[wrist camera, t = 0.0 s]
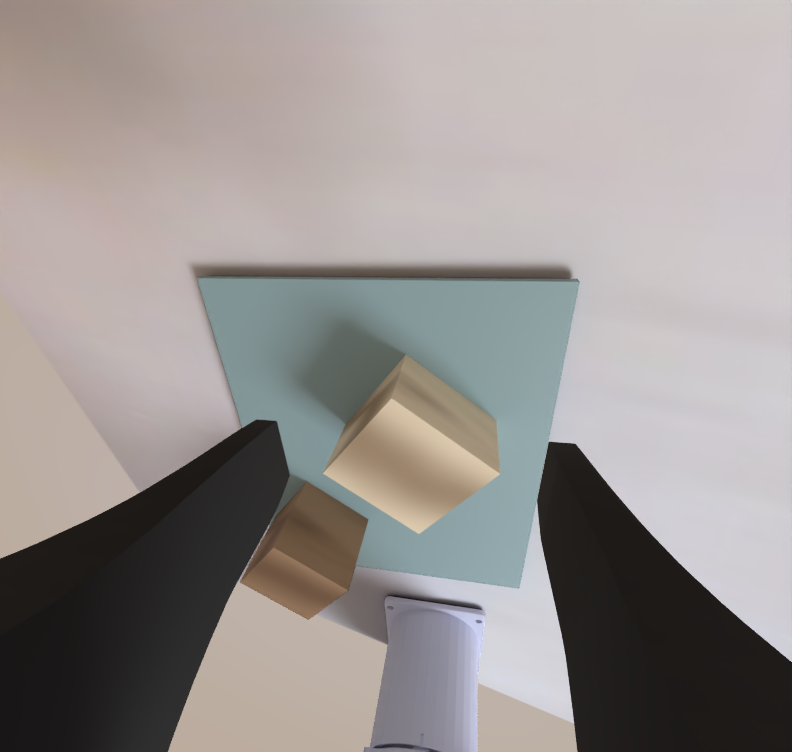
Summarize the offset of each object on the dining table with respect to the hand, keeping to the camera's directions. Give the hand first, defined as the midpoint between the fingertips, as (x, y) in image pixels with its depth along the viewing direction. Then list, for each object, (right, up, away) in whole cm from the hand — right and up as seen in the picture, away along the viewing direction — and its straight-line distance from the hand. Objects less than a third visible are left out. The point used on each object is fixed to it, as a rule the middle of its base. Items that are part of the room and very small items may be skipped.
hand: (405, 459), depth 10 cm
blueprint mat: (-1, -3, +13) cm, 14 cm away
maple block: (+1, 0, +11) cm, 11 cm away
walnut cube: (-6, -8, +17) cm, 19 cm away
